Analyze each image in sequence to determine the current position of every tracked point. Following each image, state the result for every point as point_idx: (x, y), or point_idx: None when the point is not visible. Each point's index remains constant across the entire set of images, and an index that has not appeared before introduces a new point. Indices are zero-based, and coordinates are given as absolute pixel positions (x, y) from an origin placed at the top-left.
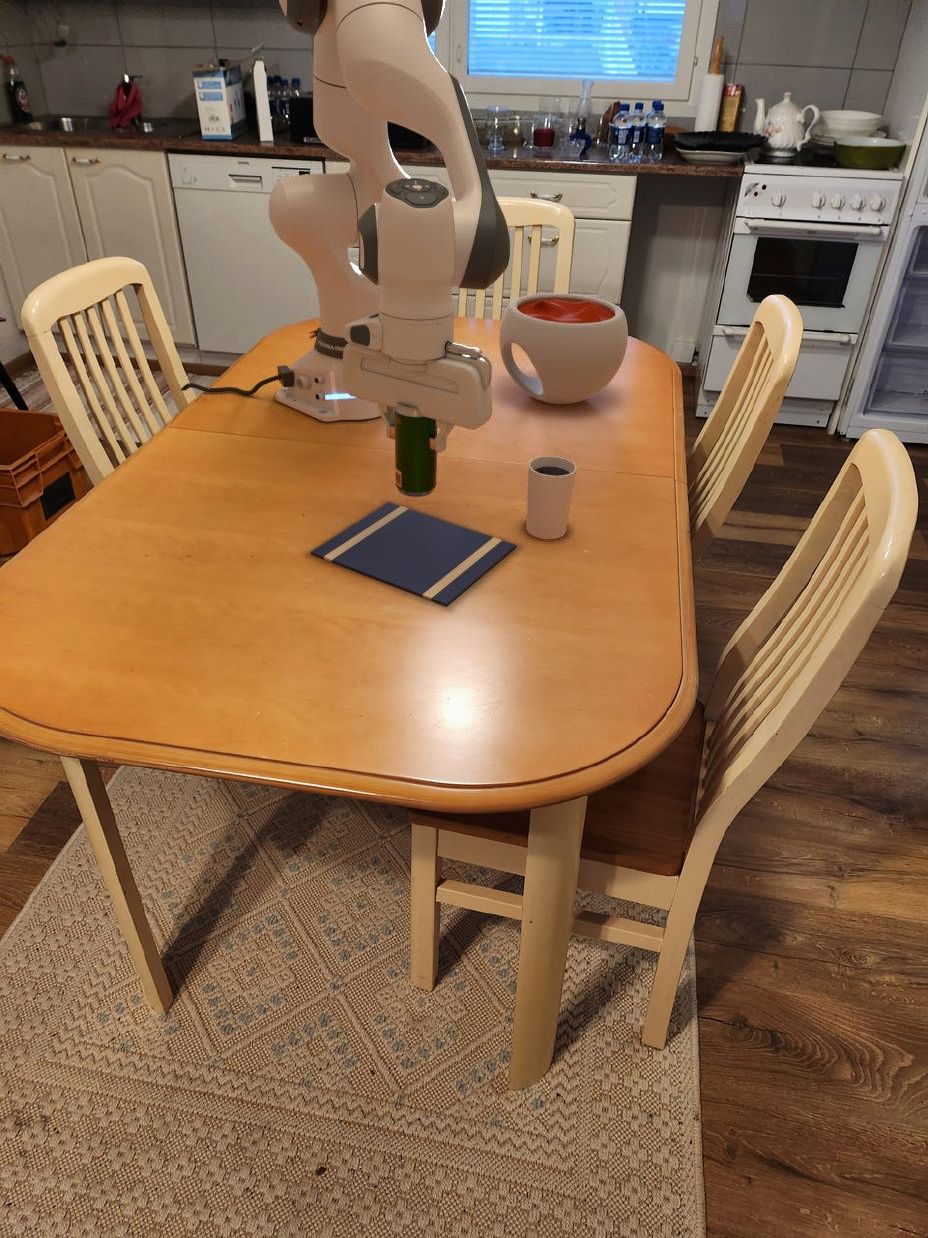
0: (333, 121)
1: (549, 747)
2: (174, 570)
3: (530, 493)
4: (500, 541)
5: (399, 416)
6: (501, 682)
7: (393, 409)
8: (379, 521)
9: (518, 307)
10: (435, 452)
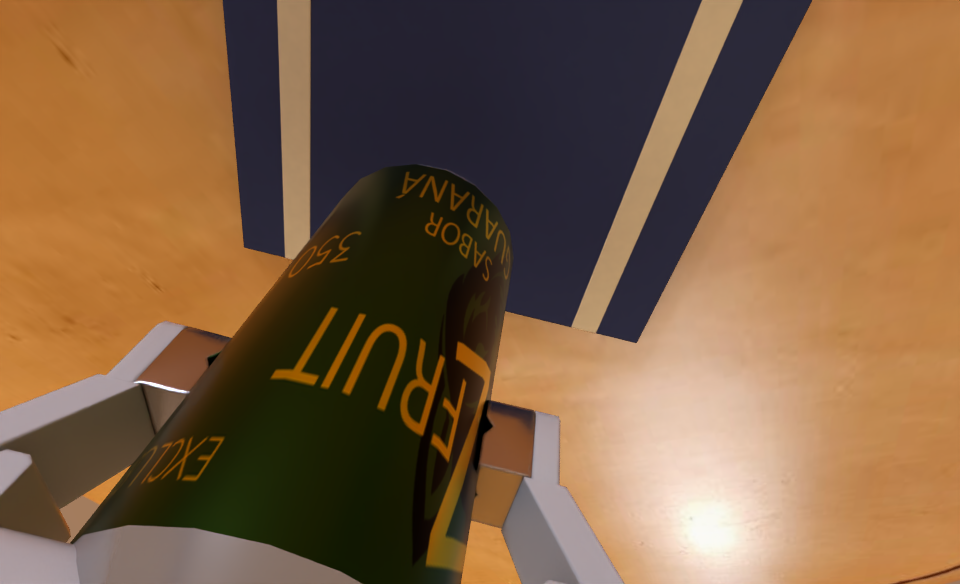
0: None
1: (856, 564)
2: (97, 362)
3: None
4: None
5: None
6: (778, 485)
7: (22, 436)
8: (283, 13)
9: None
10: (493, 378)
